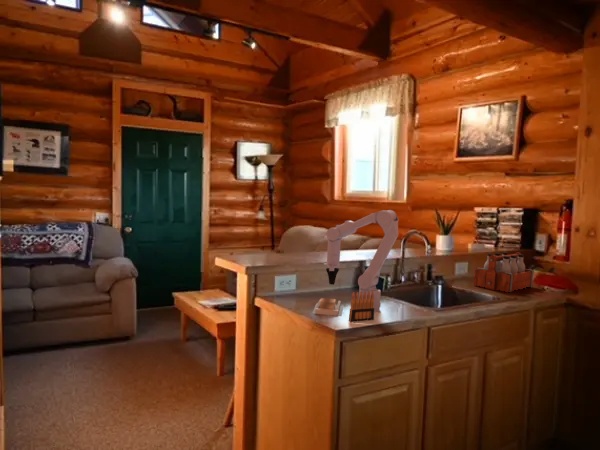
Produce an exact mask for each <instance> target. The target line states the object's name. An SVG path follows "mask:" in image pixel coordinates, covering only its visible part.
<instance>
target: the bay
mask: <svg viewBox="0 0 600 450" xmlns="http://www.w3.org/2000/svg"><path fill="white" fill-rule="evenodd" d="M320 300H321V298H320V299H319V300H318V302H316V303H315V306H314V309H313V310H312V313H311V314H312V315H320V316H321V315H324V316H332V317H333V316H335V317H342V315H343V310H344V305H341V300H338V301H337V304H335V310H331V309H320Z"/></svg>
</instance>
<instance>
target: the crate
mask: <svg viewBox="0 0 600 450" xmlns="http://www.w3.org/2000/svg"><path fill="white" fill-rule="evenodd" d="M320 299H321V300H320ZM320 299H319V300H320V309H331V310H335V305H337V304H336V302H337V301H336V300H337V299H335V298H327V297H325V298H324V297H321V298H320Z"/></svg>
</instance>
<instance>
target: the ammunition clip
mask: <svg viewBox="0 0 600 450" xmlns="http://www.w3.org/2000/svg"><path fill="white" fill-rule="evenodd" d="M358 291H359V290H358ZM358 291H356V293H355V292H354V291H353V292H352V294H351V301H350V308H349V316H348V321H349V322H350V323H351V322H354V323H355V322H364V321H374V320H375V311H374V293H373V291H372V293H371V299H370V292H369V291H368V294H367V300H366V292H364V295H363V301H362V291H361V292H360V297H359V292H358Z"/></svg>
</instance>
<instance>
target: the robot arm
mask: <svg viewBox="0 0 600 450" xmlns="http://www.w3.org/2000/svg"><path fill="white" fill-rule="evenodd" d="M399 220H400V219H399V217H398V215H397V213H396V211H394V210H392V209H388V210H385V209H383V210H380V211H377V212H372V213H369V215H366V216H364V217H362V218H360V219H357V220H356V221H353V220H345V221H344V223H342V224H336V225H335V227H330V228H328V229H327V230H326V233H325V235H326V238H327V252H326V253H327V254H326V262H325V263H323V265H324V266H326V270H325V271H326V273H327V276H328V284H329V285H331V286H333V285H335V283H336V279H337V274H338V273H339V271H340V266H341V265H340V263H341V262H340V259H341V242H342V239H343V238H346V237H348V236H350V235H353V234H355V233H357V231H358V229H359V228H363V227H365V226H368V225H370V224H372V223H373V224H378V225H379V227H381V229H382V230H383V233H384V236H383V238H382V240H381V242H380V244H379V246H378V248H377V249H376V251H375V253H374V255H373V257H372V259H371V260H370V261H371V262H370V263H369V265H368V267H367V268H366V269H365V270H364V272H363V274H361V275H359V277H358V279H357V285H358V287H359V289H358V291H359V292H358V294H359V297H360V292H361V291H362V301H363V295H364V292H366V300H367V294H368V291H369V292H370V299H371V293H372V291H373V293H374V312H376V313H379V312H380V308H381V306H382V305H381V304H382V303H381V296H382V295H381V289H377V286H376V285H378V284H379V277H380V274H381V270H382V267H383V266H384V263H385V261H386V260H387V258H388V256H389V254H390V252H391V250H392V248H393V246H394V245H395V244H396V243H395V242H396V240H398V239H397V238H398V237H399Z"/></svg>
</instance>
